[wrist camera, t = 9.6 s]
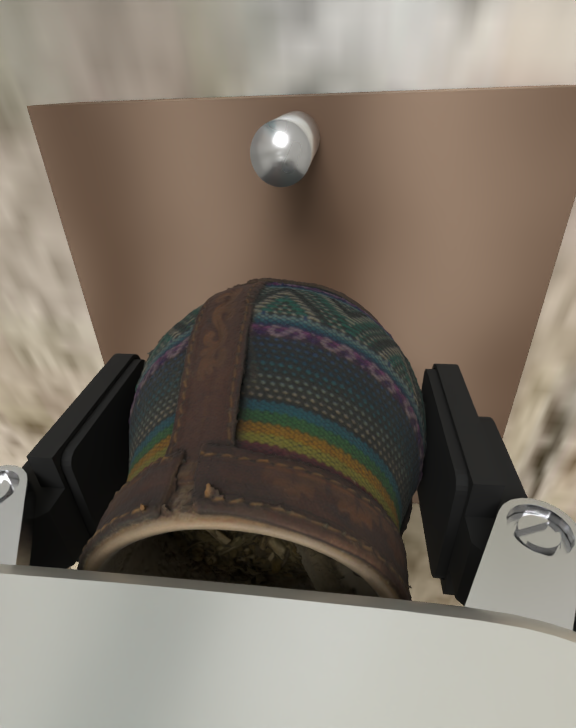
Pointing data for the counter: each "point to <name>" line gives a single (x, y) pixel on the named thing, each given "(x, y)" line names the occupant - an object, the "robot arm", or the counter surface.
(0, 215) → the counter surface
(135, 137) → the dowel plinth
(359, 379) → the mate gourd
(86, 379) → the counter surface
